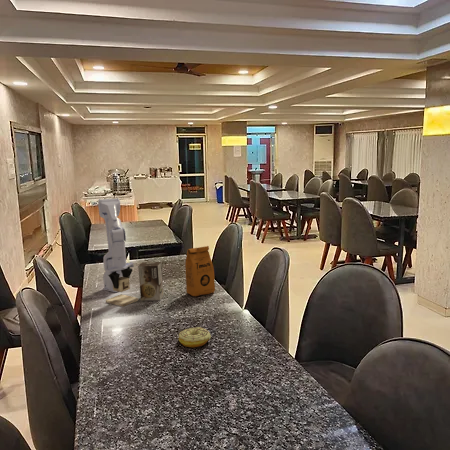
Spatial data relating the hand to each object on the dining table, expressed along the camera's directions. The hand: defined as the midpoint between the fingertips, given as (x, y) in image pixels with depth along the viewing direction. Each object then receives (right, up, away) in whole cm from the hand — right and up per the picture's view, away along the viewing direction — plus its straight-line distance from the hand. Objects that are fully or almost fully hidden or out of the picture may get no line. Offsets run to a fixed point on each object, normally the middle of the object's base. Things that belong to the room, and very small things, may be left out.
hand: (121, 286), depth 180 cm
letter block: (0, -2, 0) cm, 2 cm away
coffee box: (+13, -6, +4) cm, 15 cm away
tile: (0, -7, +1) cm, 7 cm away
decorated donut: (+35, -13, -40) cm, 55 cm away
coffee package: (+35, -5, +9) cm, 36 cm away
